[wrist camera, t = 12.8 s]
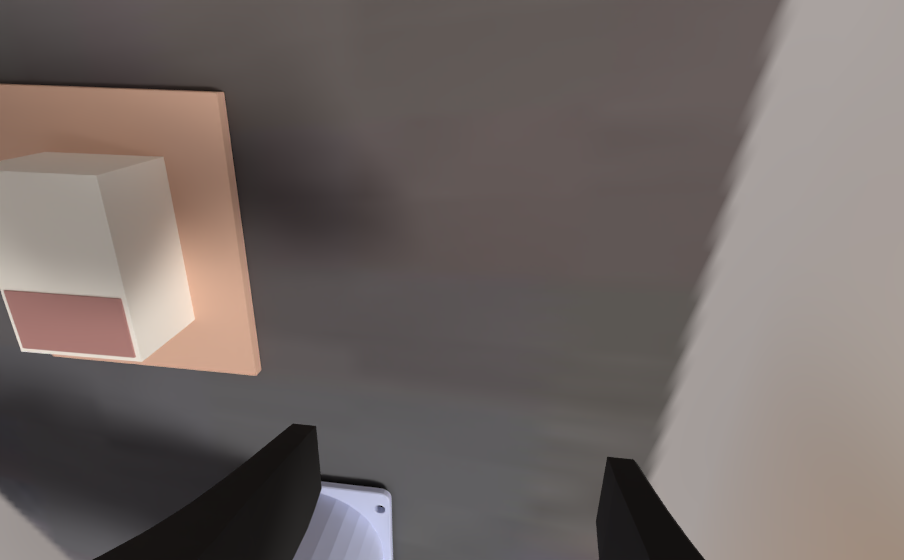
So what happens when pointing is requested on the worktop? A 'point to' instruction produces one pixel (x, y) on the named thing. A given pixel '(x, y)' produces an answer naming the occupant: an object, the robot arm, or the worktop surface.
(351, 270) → the worktop surface
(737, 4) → the worktop surface
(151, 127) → the mat
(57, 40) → the worktop surface
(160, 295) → the card box
